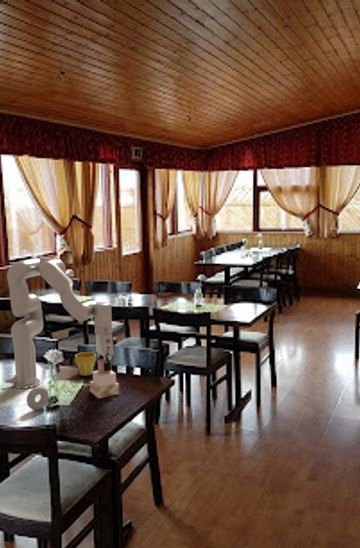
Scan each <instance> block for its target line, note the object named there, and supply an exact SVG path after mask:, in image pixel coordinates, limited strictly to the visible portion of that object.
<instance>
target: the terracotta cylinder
mask: <svg viewBox="0 0 360 548" xmlns="http://www.w3.org/2000/svg"><path fill="white" fill-rule="evenodd" d="M104 362H105V361H104V359H100V360H98V359H97V371H99V372H109V371H104ZM111 370H112V369H111ZM111 370H110V371H111Z"/></svg>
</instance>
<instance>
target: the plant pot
mask: <svg viewBox="0 0 360 548" xmlns="http://www.w3.org/2000/svg"><path fill="white" fill-rule="evenodd" d="M74 361H75V363H76V366H77V369H78V373H79V376H83V377H85V376H92V375H93V371H94V367H95V362H96V361H97V354H96V353H94V352H84V351H83V352H80V353H79V352H78V353H76V354H75V355H74Z"/></svg>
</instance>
